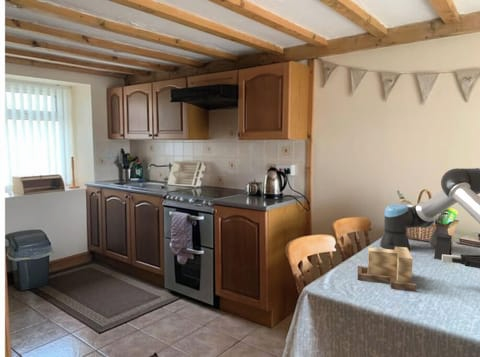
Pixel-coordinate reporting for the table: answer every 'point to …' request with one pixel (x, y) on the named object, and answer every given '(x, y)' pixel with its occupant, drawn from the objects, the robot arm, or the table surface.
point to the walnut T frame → (384, 280)
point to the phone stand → (443, 246)
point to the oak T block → (391, 263)
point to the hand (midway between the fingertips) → (442, 258)
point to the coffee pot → (439, 229)
